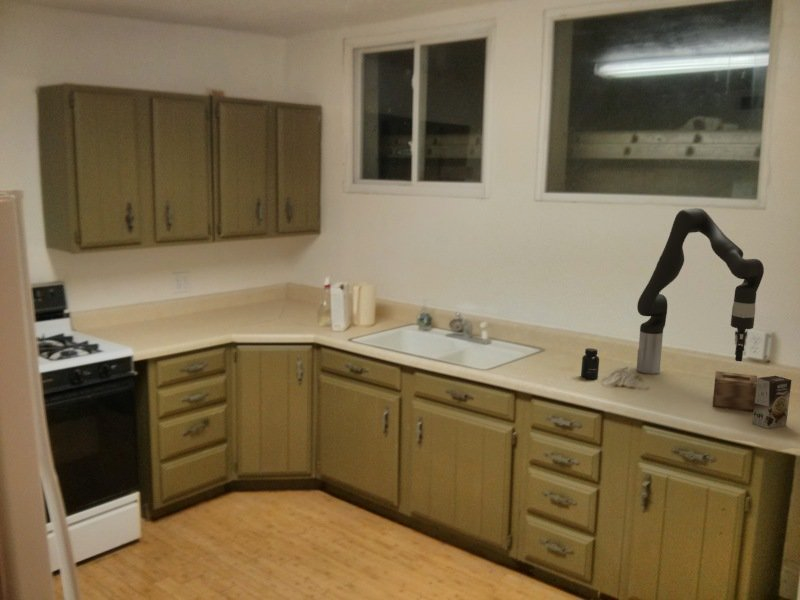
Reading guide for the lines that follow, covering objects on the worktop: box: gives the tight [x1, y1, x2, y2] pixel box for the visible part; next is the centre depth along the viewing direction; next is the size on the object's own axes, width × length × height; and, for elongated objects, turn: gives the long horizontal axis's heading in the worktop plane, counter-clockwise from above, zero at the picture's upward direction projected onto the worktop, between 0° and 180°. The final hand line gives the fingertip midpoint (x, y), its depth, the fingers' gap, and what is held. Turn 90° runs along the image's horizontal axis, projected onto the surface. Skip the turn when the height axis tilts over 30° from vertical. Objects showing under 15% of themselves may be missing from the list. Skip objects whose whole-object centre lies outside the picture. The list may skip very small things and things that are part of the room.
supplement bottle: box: [580, 347, 600, 381], centre depth 299 cm, size 7×7×12 cm
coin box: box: [712, 370, 758, 413], centre depth 267 cm, size 14×12×10 cm
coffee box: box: [752, 375, 792, 429], centre depth 246 cm, size 9×6×16 cm
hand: (738, 358), depth 265 cm, fingers open, 8 cm apart
